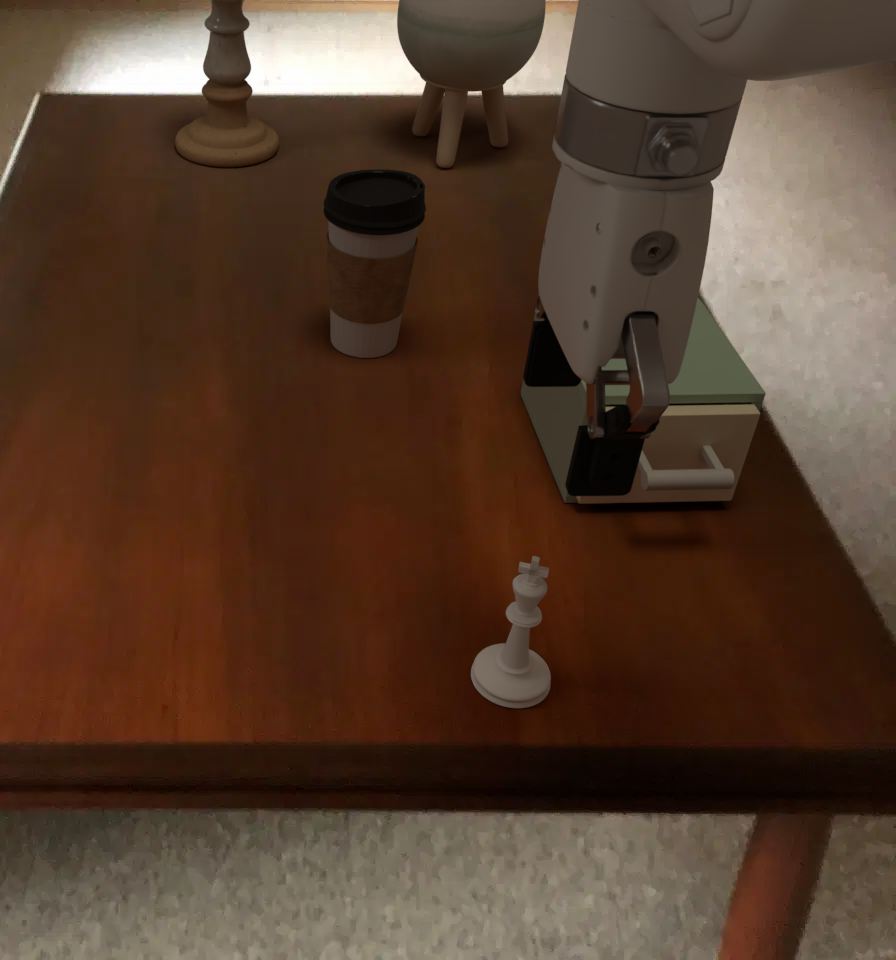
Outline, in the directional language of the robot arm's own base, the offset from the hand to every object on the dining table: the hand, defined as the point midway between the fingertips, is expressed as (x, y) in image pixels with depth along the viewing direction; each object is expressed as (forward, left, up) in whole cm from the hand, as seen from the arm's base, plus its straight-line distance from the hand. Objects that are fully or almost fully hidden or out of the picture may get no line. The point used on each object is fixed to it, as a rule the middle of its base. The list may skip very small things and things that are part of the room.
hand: (572, 434), depth 63 cm
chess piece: (0, +1, -18) cm, 18 cm away
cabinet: (+11, -25, -18) cm, 33 cm away
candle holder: (+77, -38, -18) cm, 88 cm away
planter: (+60, -59, -18) cm, 86 cm away
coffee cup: (+35, -20, -18) cm, 44 cm away
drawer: (+8, -23, -17) cm, 30 cm away
